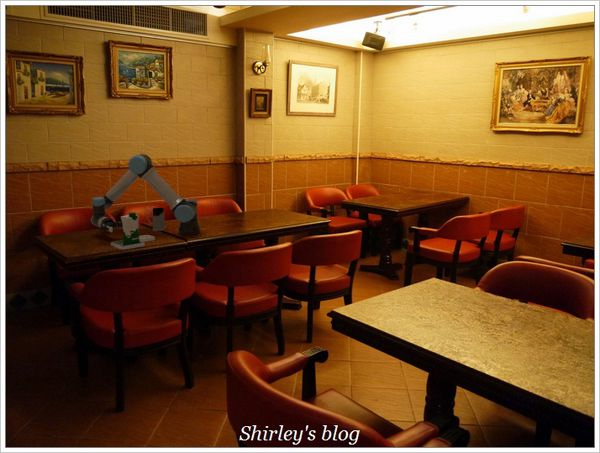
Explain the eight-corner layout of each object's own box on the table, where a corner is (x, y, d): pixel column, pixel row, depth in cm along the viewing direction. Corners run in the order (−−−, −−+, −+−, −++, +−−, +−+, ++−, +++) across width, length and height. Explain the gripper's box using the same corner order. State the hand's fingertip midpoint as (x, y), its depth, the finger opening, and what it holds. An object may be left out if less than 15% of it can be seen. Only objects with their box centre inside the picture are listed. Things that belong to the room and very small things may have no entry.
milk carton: (131, 247, 309) (129, 214, 305) (120, 245, 313) (118, 213, 309) (142, 244, 317) (140, 212, 313) (131, 242, 321) (129, 211, 317)
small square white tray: (147, 237, 337) (147, 234, 336) (154, 240, 331) (154, 236, 330) (135, 239, 330) (134, 236, 330) (142, 242, 324) (141, 239, 324)
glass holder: (161, 230, 358) (161, 209, 355) (143, 229, 361) (142, 208, 358) (167, 228, 367) (166, 207, 364) (149, 227, 369) (148, 206, 366)
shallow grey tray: (132, 241, 325) (132, 238, 324) (144, 245, 315) (144, 242, 315) (110, 245, 315) (110, 242, 314) (122, 249, 305) (122, 246, 304)
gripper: (124, 226, 340) (141, 231, 325) (87, 231, 322) (103, 237, 308) (124, 215, 338) (140, 219, 324) (87, 220, 320) (102, 225, 306)
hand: (122, 228), depth 316 cm, fingers open, 13 cm apart
